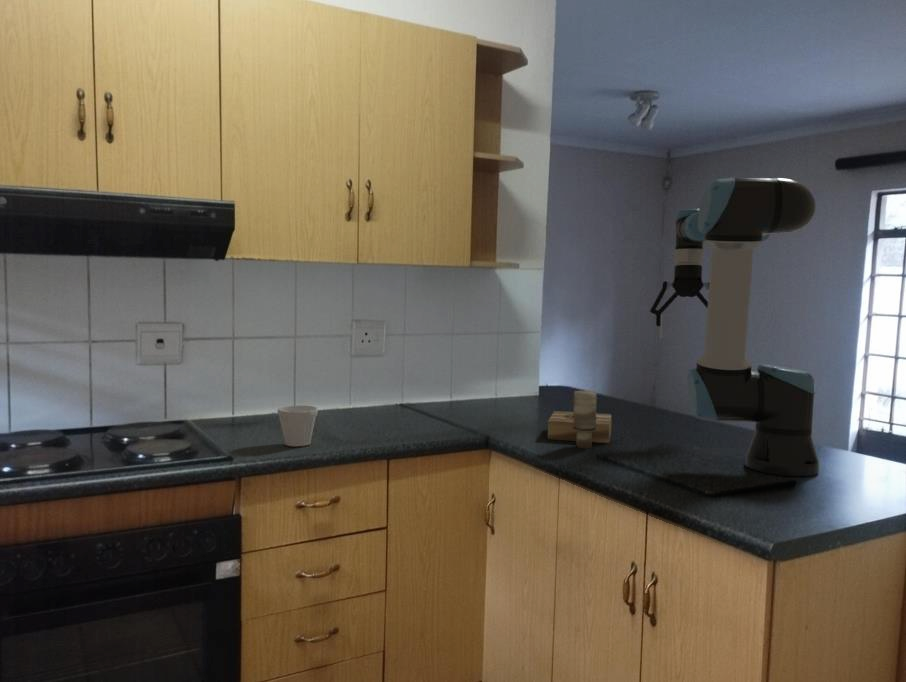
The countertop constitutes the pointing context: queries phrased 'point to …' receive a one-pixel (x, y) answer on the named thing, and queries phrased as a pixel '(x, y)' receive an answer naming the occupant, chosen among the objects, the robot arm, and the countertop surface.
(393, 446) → the countertop surface
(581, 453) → the countertop surface
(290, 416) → the cup
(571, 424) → the block
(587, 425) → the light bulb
